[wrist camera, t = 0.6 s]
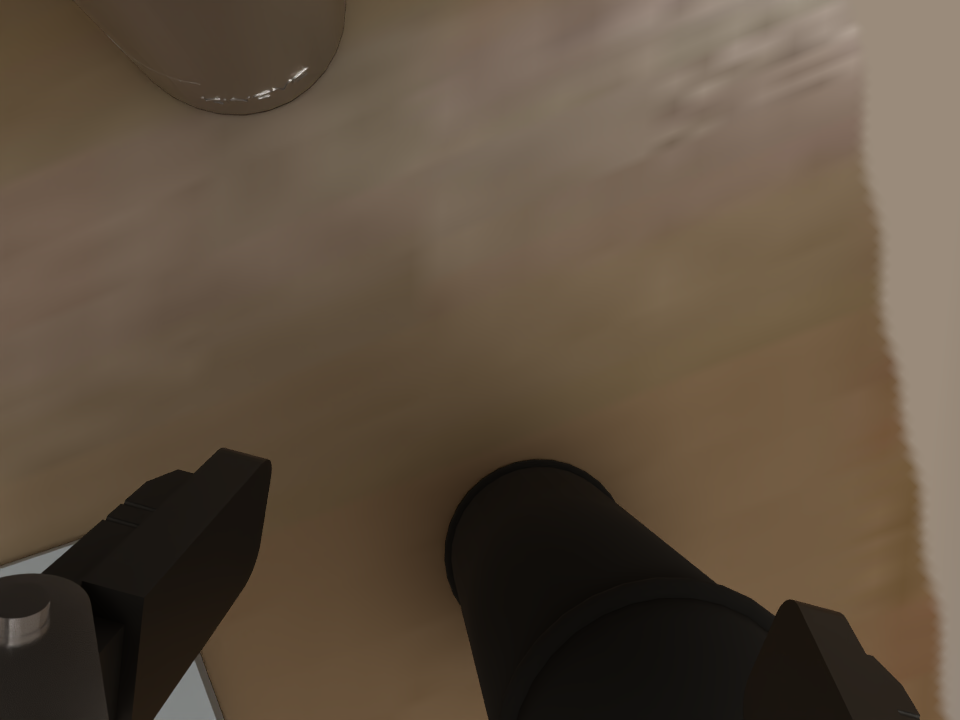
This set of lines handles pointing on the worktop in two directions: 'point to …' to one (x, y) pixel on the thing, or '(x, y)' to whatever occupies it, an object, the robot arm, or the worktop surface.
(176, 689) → the pad
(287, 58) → the robot arm
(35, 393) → the worktop surface
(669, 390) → the worktop surface
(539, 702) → the aerosol can
